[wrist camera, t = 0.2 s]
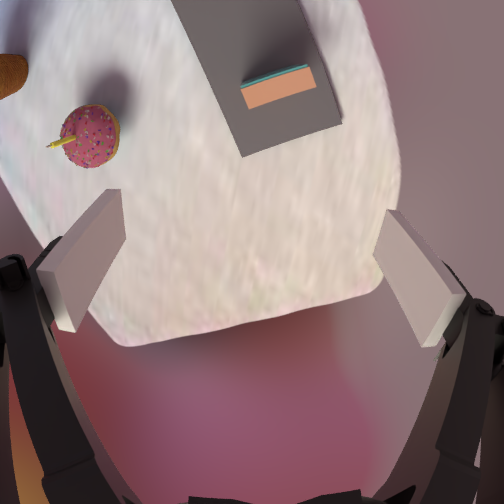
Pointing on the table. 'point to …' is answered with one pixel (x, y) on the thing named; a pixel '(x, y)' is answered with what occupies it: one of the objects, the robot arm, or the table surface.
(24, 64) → the disposable coffee cup
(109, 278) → the table surface
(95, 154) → the cupcake
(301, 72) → the tile
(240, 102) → the mat
